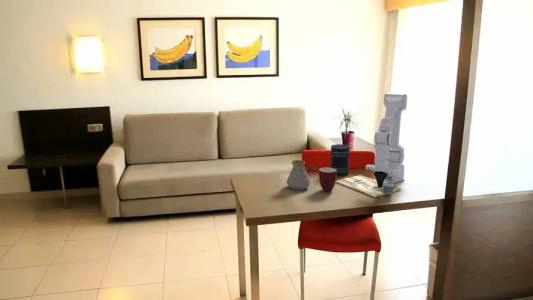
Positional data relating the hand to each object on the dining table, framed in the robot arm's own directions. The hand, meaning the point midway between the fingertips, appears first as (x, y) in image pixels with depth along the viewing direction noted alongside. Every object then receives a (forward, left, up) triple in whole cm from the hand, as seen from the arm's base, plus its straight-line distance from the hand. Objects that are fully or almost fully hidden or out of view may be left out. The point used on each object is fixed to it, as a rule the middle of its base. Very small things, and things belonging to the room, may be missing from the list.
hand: (380, 187), depth 176 cm
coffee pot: (+25, -24, -4) cm, 35 cm away
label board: (-4, -12, -4) cm, 13 cm away
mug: (+16, -17, -4) cm, 23 cm away
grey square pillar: (-6, -1, -2) cm, 6 cm away
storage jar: (-7, -35, -4) cm, 35 cm away
